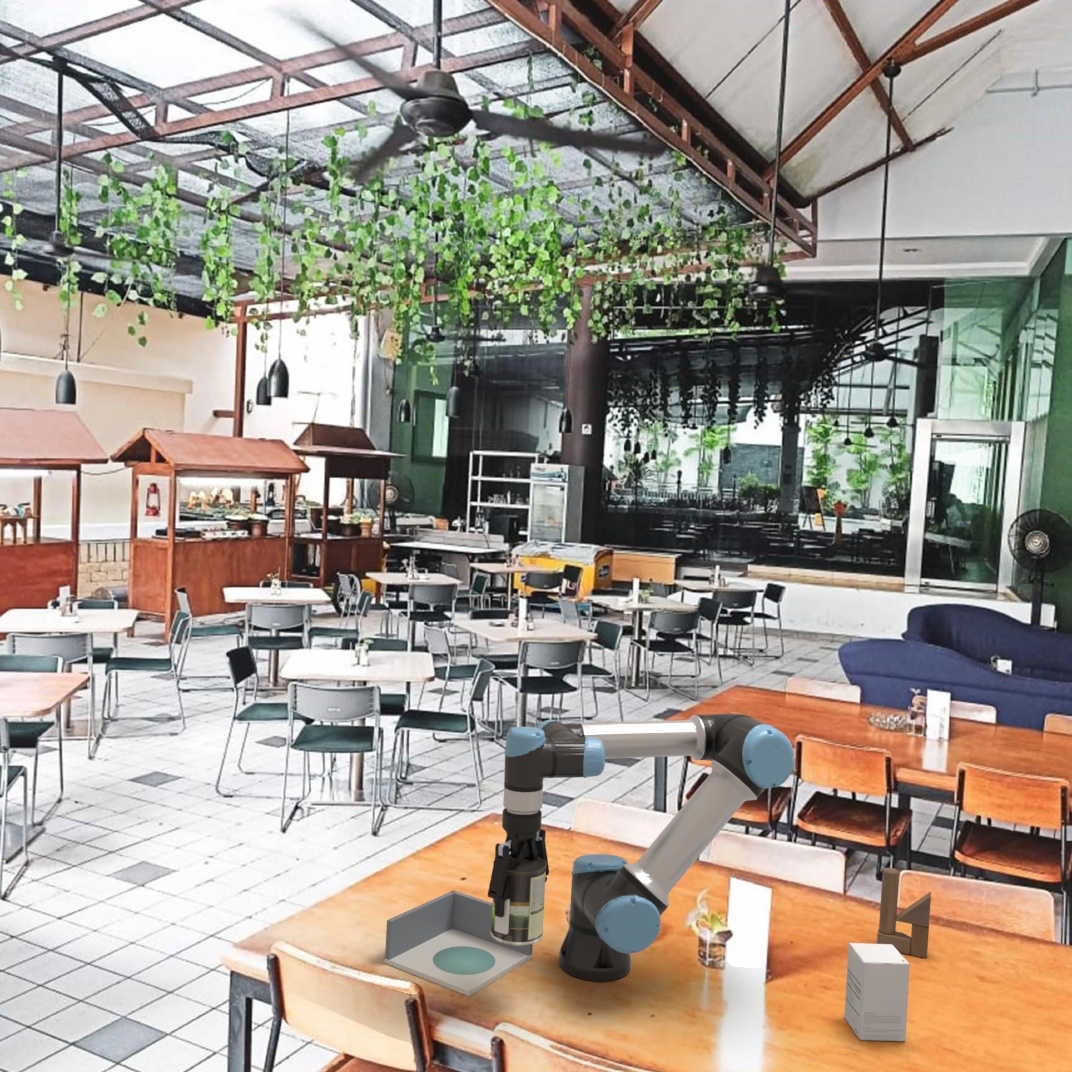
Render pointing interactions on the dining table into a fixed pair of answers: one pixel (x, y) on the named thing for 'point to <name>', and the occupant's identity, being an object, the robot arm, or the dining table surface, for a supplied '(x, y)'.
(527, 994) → the dining table surface
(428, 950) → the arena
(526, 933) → the coffee can
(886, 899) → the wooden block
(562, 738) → the robot arm
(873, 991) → the supplement box
